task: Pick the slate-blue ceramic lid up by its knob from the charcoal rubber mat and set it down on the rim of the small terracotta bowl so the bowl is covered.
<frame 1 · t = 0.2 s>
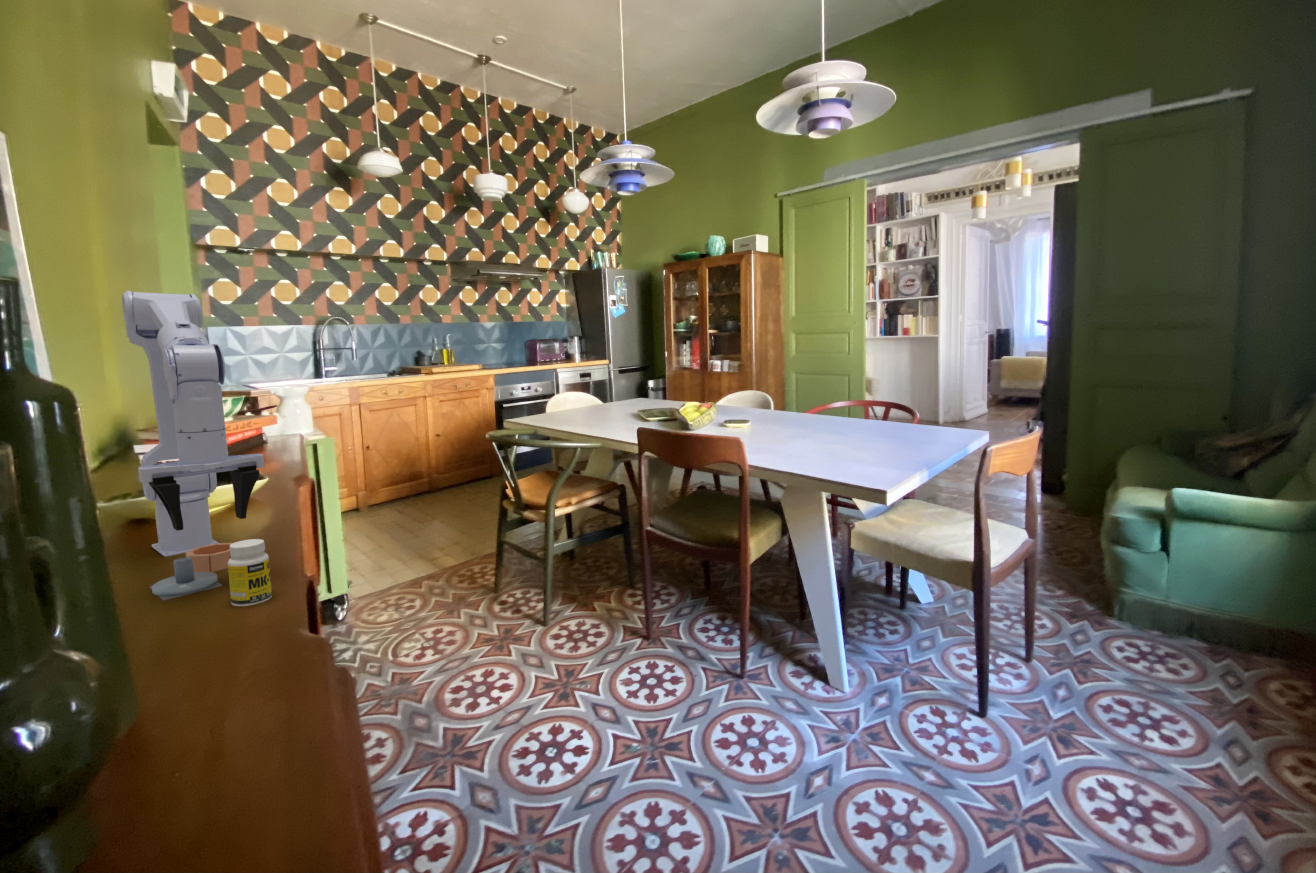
hand: (210, 523, 90), 10 cm above the table, tool pointing down, fingers open, 7 cm apart
bowl: (214, 567, 99), on the table
supplement bottle: (252, 603, 86), on the table
lid: (185, 586, 90), resting on mat
mat: (186, 588, 90), on the table
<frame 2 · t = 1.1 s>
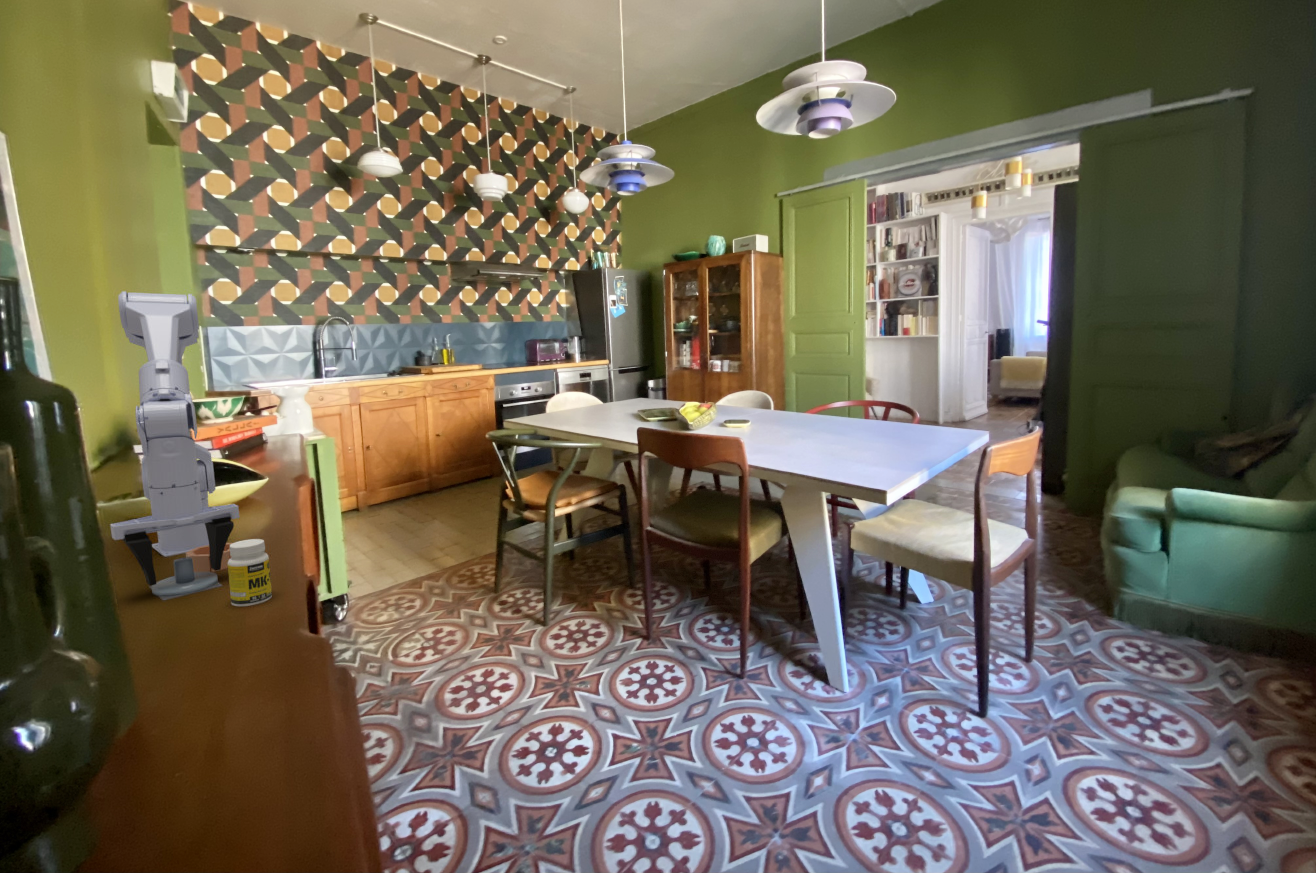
hand: (184, 575, 90), 2 cm above the table, tool pointing down, fingers open, 7 cm apart
nothing on the table moved.
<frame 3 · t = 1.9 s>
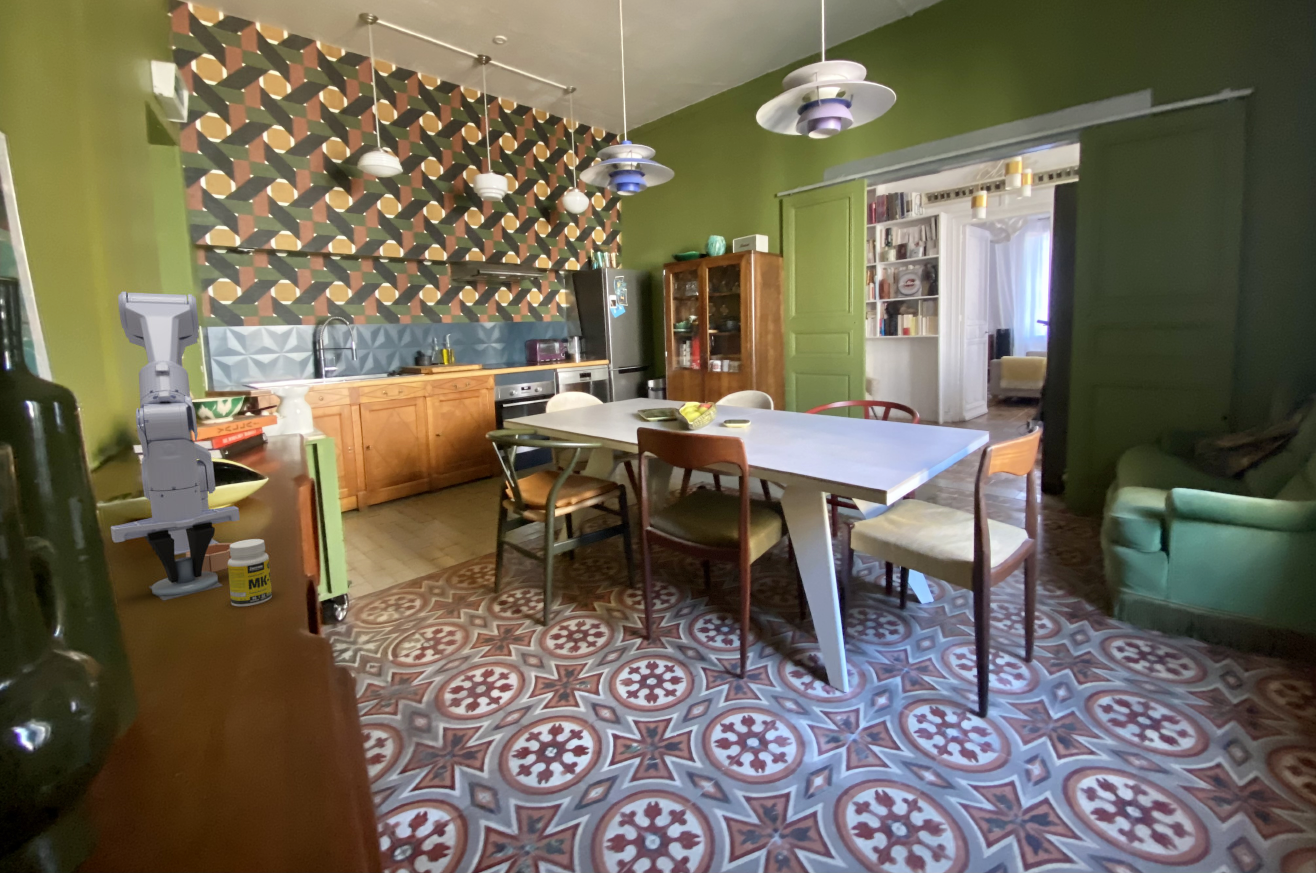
hand: (185, 578, 90), 2 cm above the table, tool pointing down, fingers closed on lid, 2 cm apart
lid: (186, 585, 90), resting on mat, touching gripper
everything else where it was.
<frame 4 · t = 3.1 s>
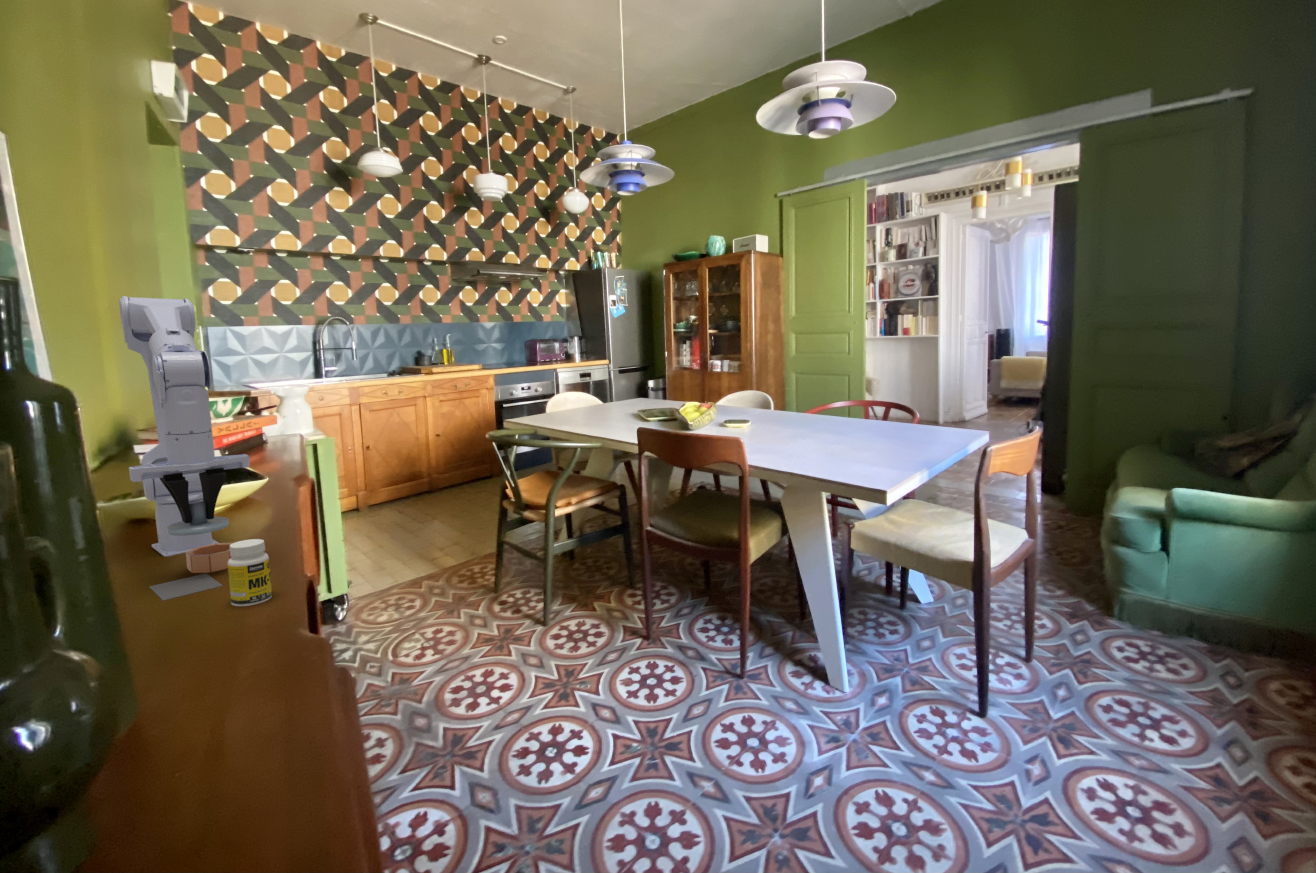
hand: (198, 520, 95), 9 cm above the table, tool pointing down, fingers closed on lid, 2 cm apart
lid: (199, 528, 95), point 7 cm above the table, touching gripper
everything else where it was.
when the fingers open (5 cm above the table, at t = 4.3 s): lid stays where it is, resting on bowl.
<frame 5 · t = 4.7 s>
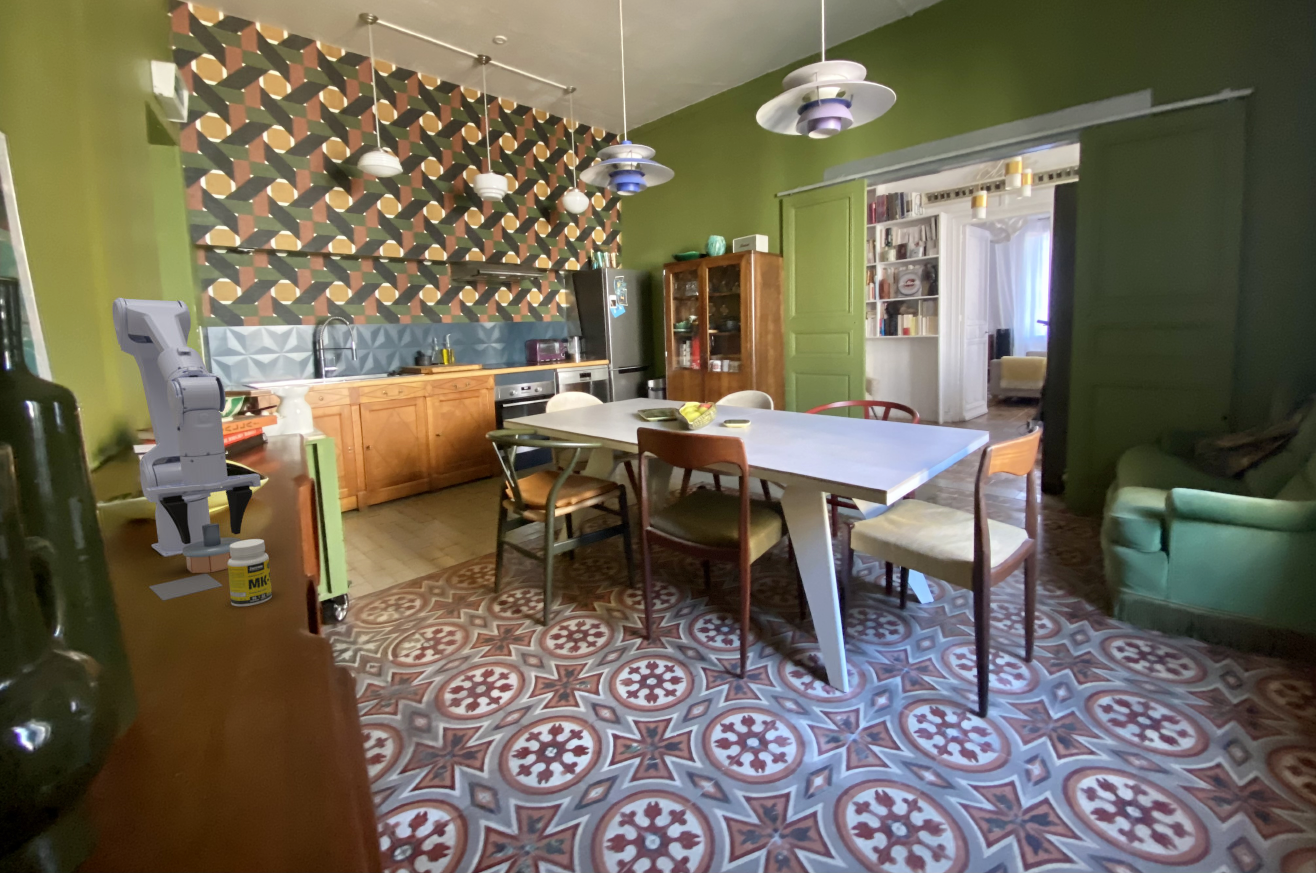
hand: (211, 537, 99), 5 cm above the table, tool pointing down, fingers open, 6 cm apart
lid: (213, 549, 99), point 3 cm above the table, touching bowl
everything else where it was.
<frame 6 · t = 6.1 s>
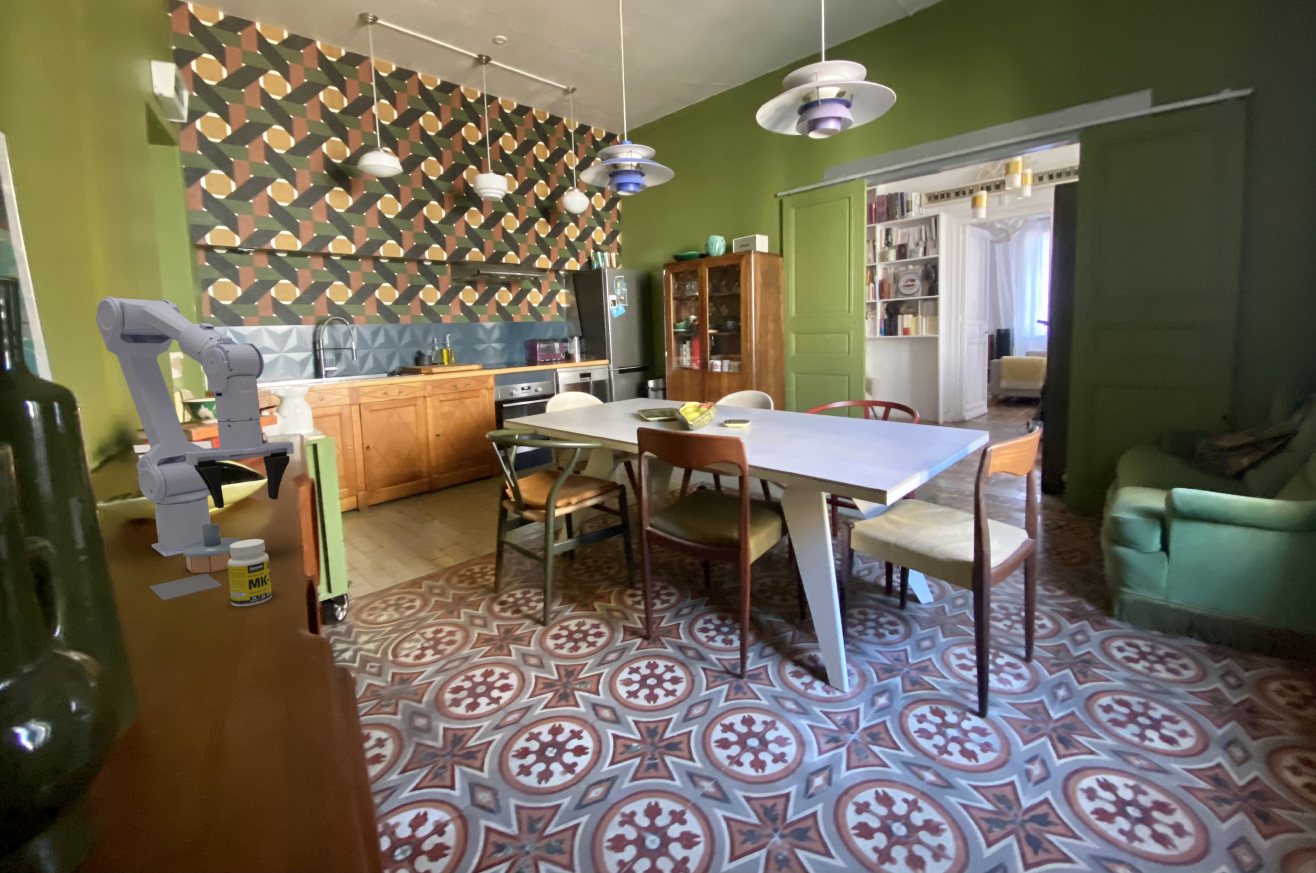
hand: (247, 502, 101), 10 cm above the table, tool pointing down, fingers open, 7 cm apart
nothing on the table moved.
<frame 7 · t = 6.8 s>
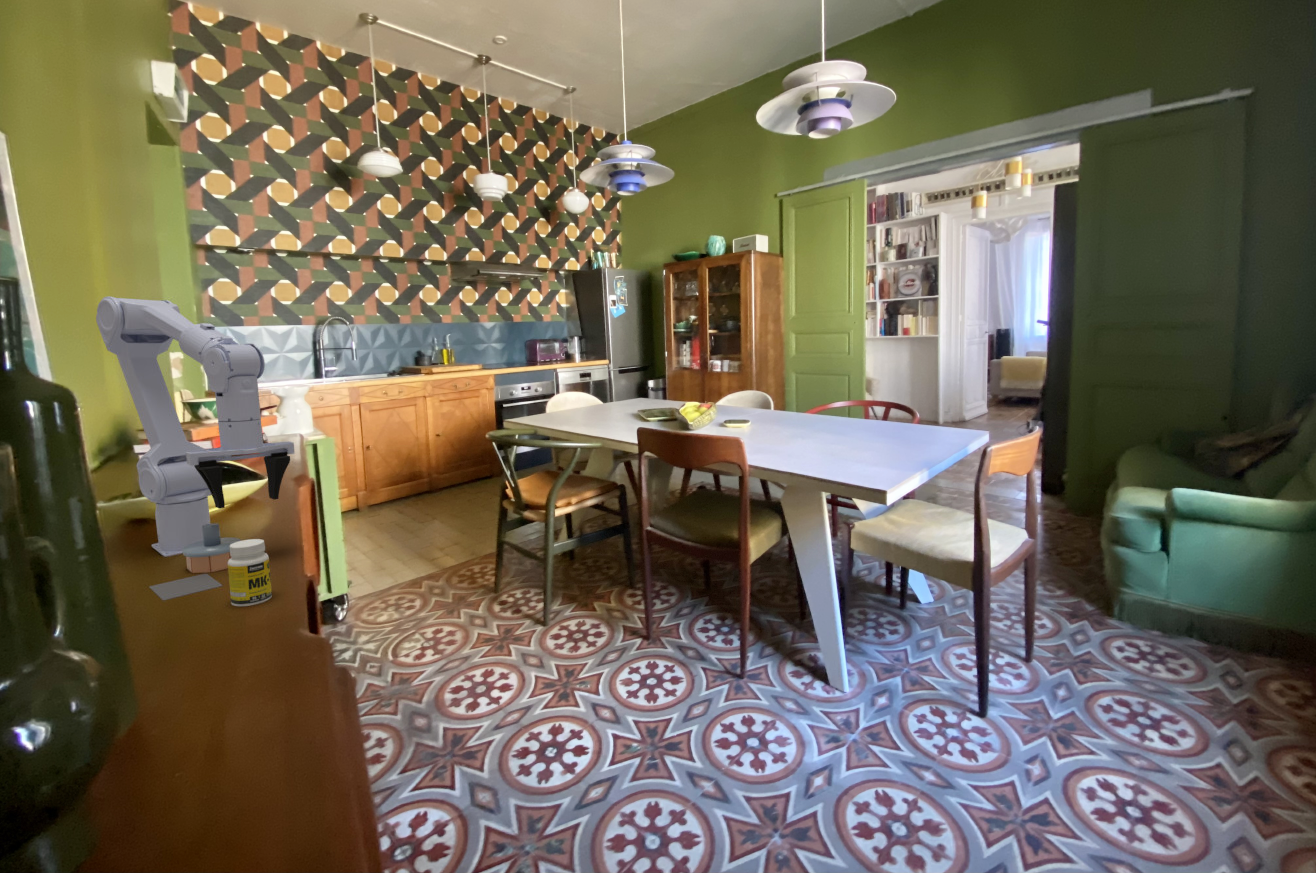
hand: (247, 502, 101), 10 cm above the table, tool pointing down, fingers open, 7 cm apart
nothing on the table moved.
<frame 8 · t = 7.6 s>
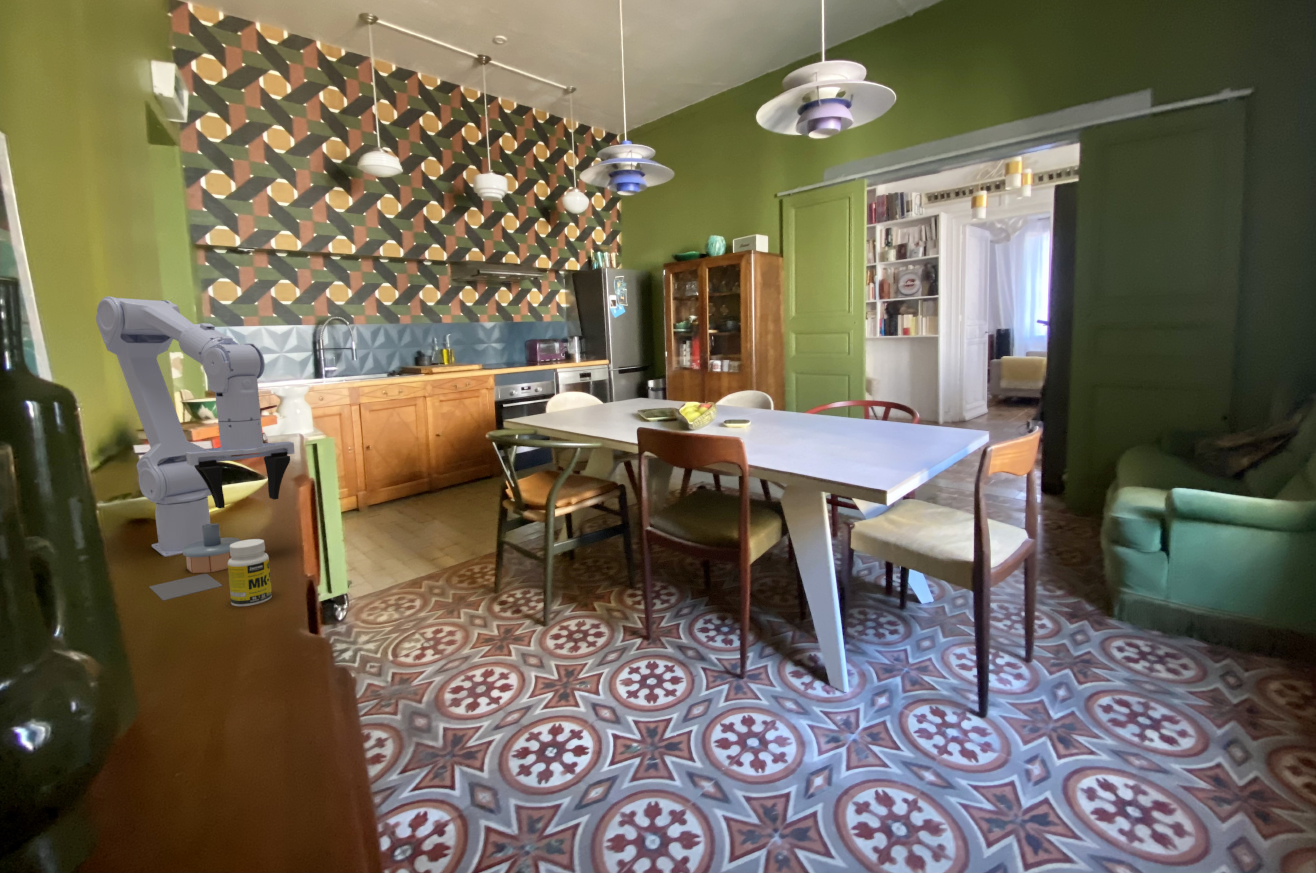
hand: (247, 502, 101), 10 cm above the table, tool pointing down, fingers open, 7 cm apart
nothing on the table moved.
at the end: lid 0.1 cm off-centre on the bowl, point 3.0 cm above the bowl's base; lid tilted 0°; the gripper is holding nothing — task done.
